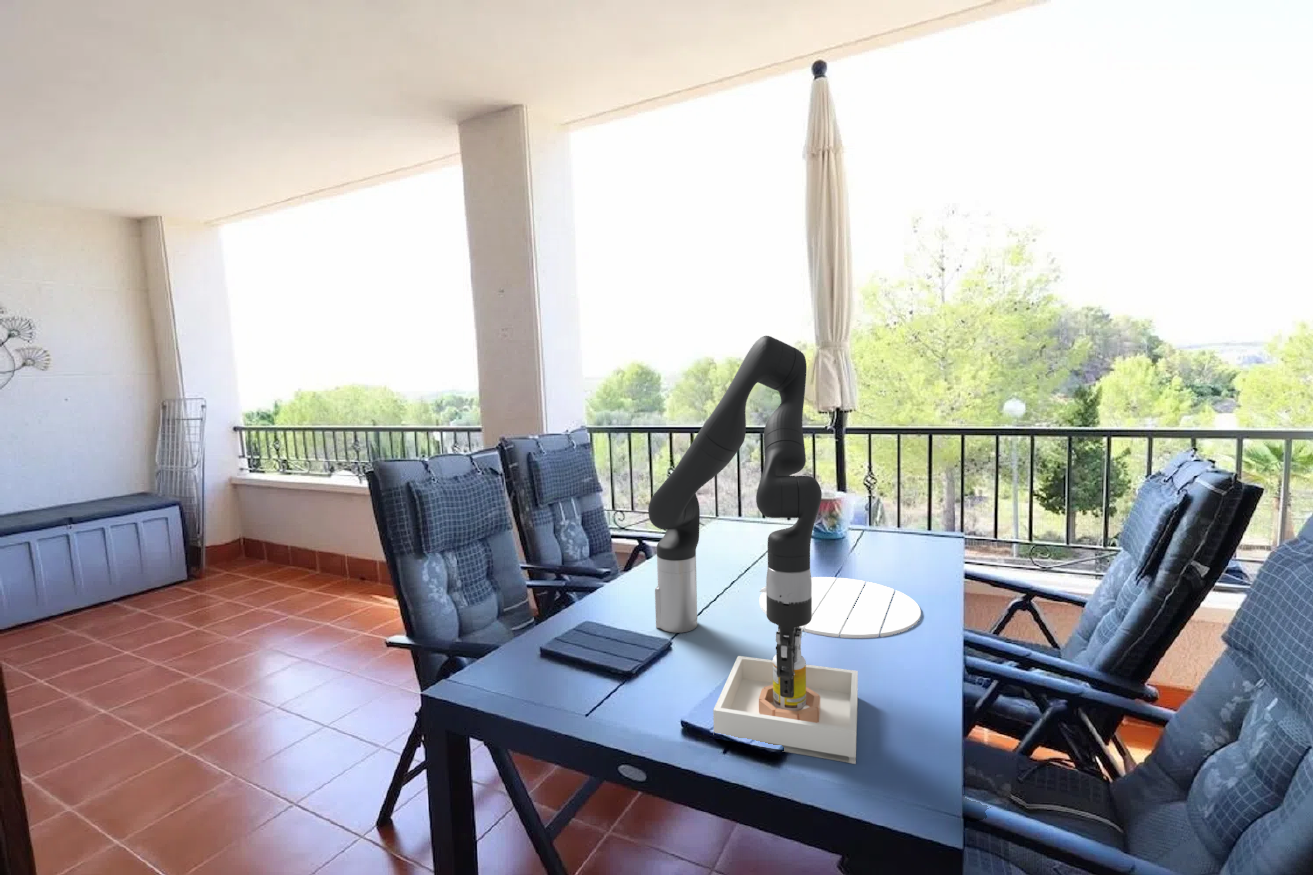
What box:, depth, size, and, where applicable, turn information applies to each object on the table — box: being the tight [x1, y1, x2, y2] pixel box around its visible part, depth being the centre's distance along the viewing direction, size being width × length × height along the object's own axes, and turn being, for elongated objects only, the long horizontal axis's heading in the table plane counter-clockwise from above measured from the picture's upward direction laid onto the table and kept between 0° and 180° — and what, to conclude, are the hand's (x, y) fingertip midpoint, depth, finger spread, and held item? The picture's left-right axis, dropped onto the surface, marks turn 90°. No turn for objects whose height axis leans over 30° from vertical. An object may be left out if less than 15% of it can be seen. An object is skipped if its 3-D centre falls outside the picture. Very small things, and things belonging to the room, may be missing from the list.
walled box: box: [712, 655, 859, 765], centre depth 104 cm, size 22×20×5 cm
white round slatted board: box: [758, 576, 922, 639], centre depth 154 cm, size 40×39×3 cm
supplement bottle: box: [772, 646, 807, 711], centre depth 104 cm, size 6×6×10 cm
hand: (789, 686), depth 104 cm, fingers closed on supplement bottle, 5 cm apart
